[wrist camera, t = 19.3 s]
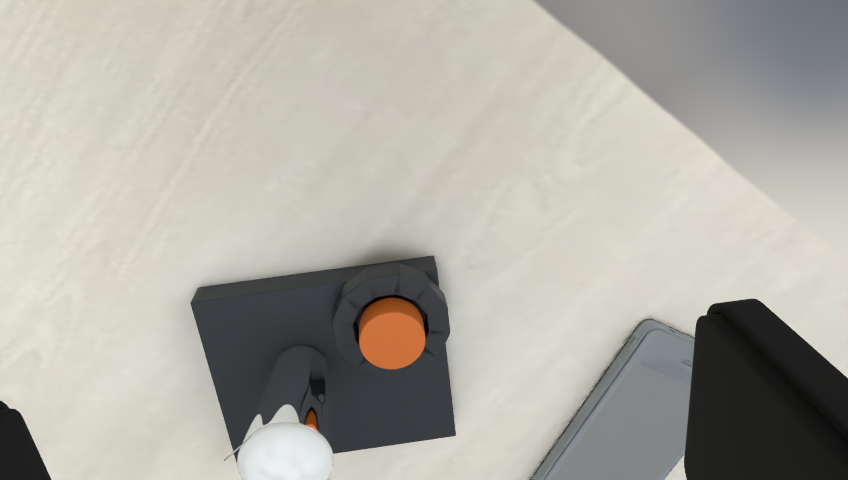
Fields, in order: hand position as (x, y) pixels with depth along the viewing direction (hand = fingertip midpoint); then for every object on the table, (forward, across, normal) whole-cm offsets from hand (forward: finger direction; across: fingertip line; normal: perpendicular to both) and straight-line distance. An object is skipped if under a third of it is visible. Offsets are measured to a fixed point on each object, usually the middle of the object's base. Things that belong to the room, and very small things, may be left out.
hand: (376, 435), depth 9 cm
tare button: (+24, +1, +13) cm, 27 cm away
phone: (+27, -14, +26) cm, 40 cm away
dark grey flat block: (+27, +4, +17) cm, 32 cm away
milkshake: (+25, +6, +16) cm, 30 cm away
